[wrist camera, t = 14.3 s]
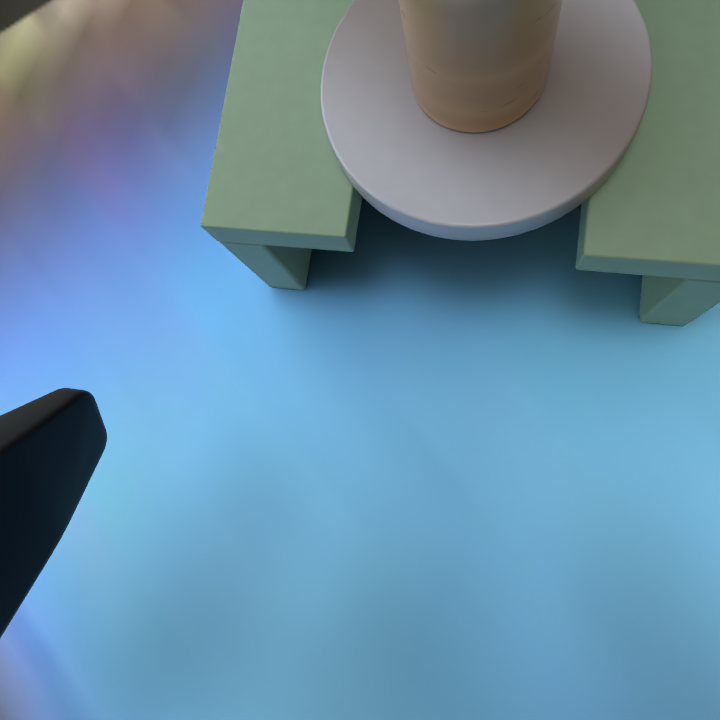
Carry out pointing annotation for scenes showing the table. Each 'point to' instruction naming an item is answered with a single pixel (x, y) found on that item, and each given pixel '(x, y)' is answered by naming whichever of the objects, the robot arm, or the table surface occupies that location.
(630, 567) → the table surface
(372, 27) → the cylinder on round base
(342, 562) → the table surface
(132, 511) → the table surface
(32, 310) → the table surface
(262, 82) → the rack
